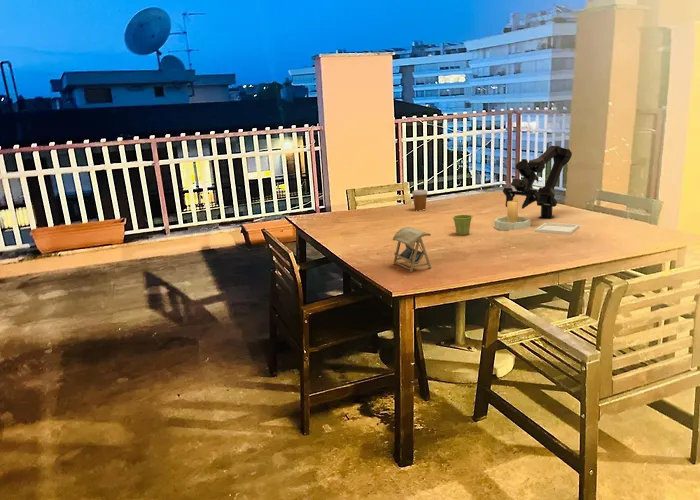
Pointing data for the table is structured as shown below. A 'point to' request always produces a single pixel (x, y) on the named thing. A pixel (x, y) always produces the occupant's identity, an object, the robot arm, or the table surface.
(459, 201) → the table surface
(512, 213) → the orange tapered cylinder
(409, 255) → the swing bench
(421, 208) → the disposable coffee cup
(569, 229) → the parts tray
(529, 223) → the sage bowl
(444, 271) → the table surface
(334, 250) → the table surface
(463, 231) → the plant pot
